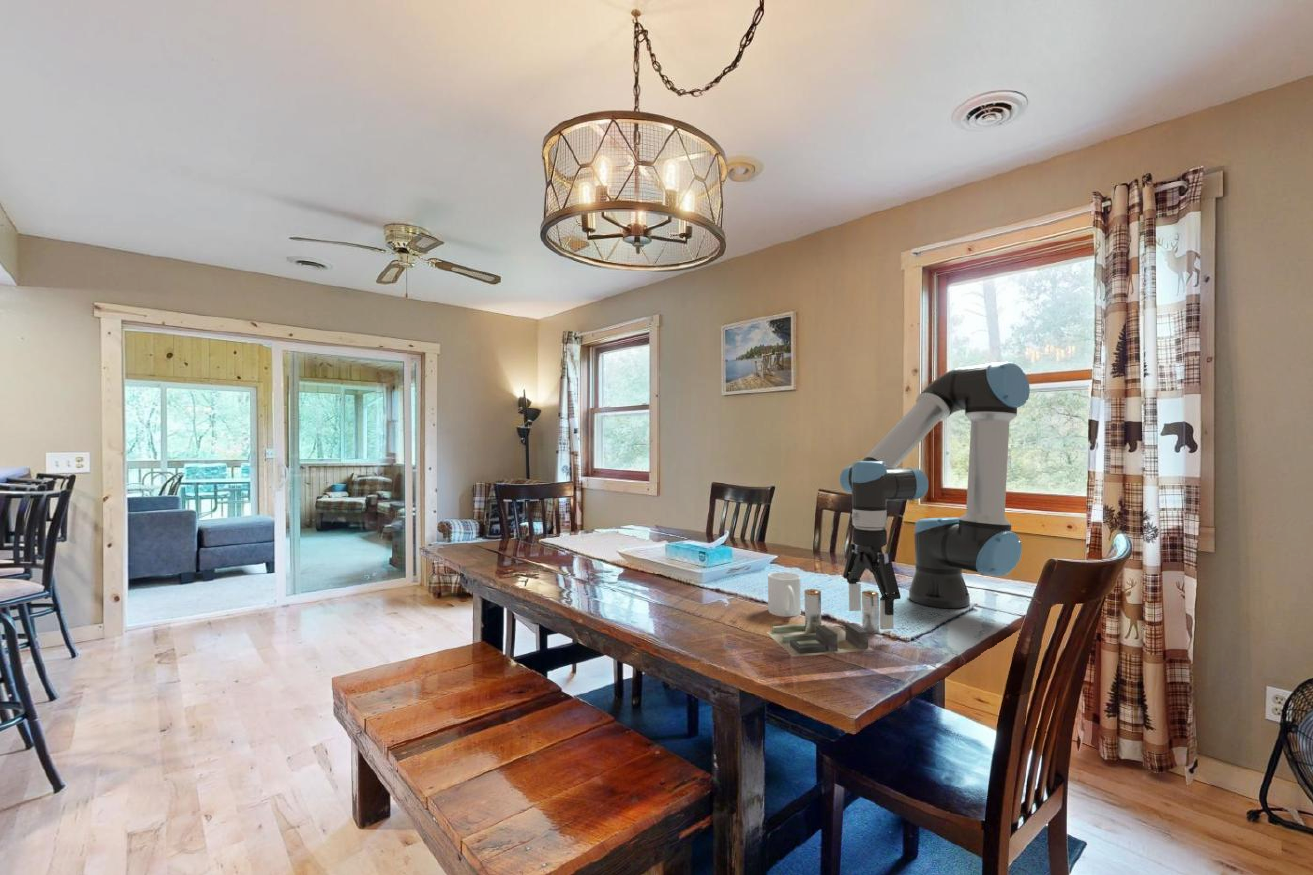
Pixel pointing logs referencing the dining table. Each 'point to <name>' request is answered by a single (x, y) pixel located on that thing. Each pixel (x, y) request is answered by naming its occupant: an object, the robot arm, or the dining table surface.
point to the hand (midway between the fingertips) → (870, 619)
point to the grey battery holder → (820, 639)
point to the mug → (784, 594)
